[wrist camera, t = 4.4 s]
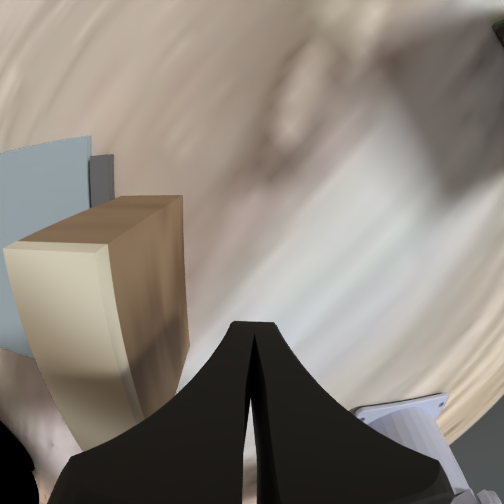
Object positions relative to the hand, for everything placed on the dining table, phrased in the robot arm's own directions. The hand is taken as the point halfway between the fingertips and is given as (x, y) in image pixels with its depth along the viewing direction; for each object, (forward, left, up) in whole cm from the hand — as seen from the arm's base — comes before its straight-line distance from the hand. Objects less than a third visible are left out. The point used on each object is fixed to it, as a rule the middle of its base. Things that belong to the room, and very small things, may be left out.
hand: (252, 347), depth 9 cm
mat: (0, +14, -5) cm, 15 cm away
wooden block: (0, +5, -5) cm, 7 cm away
